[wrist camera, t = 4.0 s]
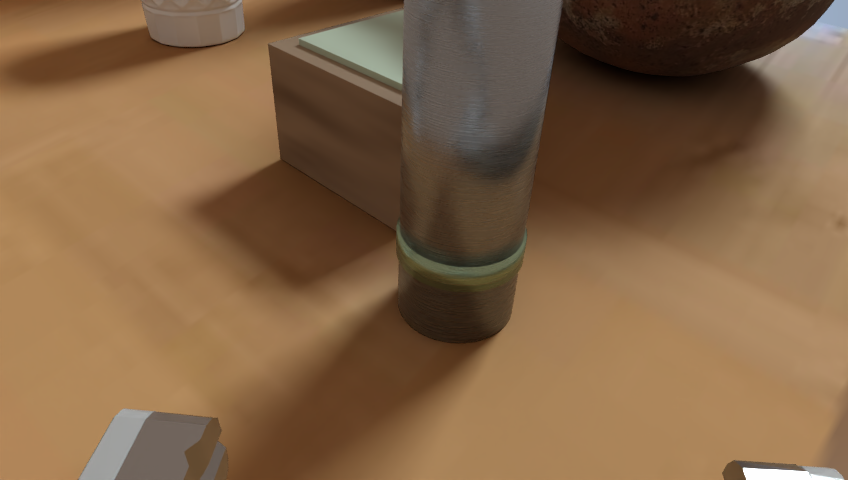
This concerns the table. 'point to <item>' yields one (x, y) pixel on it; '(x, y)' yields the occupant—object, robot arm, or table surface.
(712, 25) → the pottery
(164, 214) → the table surface
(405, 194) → the grey cylindrical bottle
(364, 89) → the stand block
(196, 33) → the white cup
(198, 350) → the table surface
